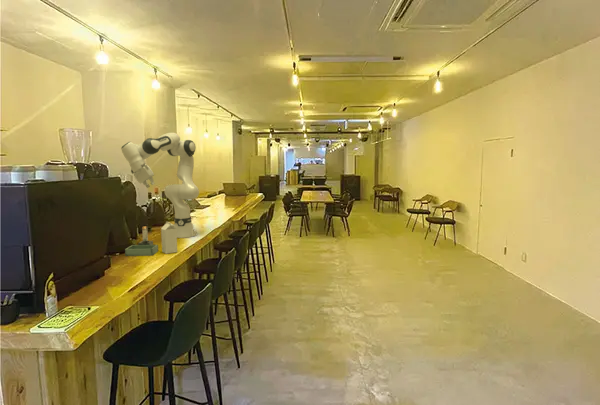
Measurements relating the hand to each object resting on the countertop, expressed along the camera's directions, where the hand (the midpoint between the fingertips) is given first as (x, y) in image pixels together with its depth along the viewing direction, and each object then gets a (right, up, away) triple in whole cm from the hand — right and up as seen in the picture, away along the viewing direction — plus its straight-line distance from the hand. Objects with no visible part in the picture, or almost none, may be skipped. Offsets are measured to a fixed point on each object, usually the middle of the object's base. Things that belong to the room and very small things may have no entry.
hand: (150, 186), depth 235 cm
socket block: (-4, -41, +2) cm, 41 cm away
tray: (-2, -42, -8) cm, 43 cm away
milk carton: (+13, -42, -4) cm, 44 cm away
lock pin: (-4, -41, +2) cm, 41 cm away
